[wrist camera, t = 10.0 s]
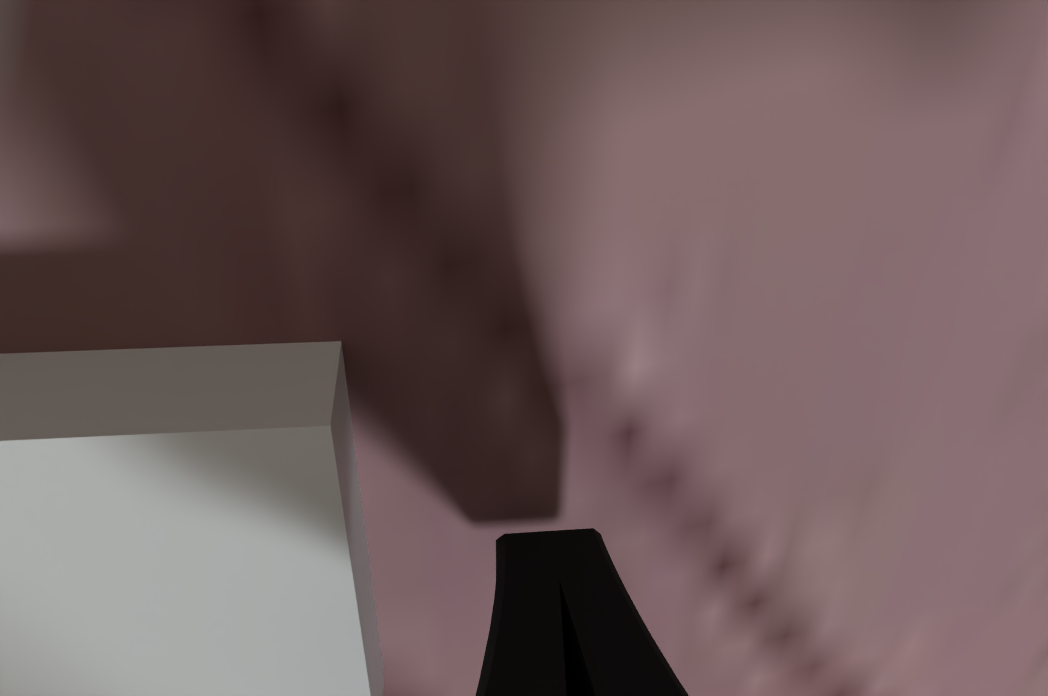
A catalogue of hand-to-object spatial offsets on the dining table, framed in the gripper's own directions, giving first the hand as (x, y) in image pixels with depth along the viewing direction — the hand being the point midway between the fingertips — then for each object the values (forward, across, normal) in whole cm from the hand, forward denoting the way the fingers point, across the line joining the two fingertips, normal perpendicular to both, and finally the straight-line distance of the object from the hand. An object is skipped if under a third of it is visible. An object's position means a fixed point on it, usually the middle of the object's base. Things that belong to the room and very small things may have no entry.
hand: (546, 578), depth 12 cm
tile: (+2, +6, 0) cm, 6 cm away
